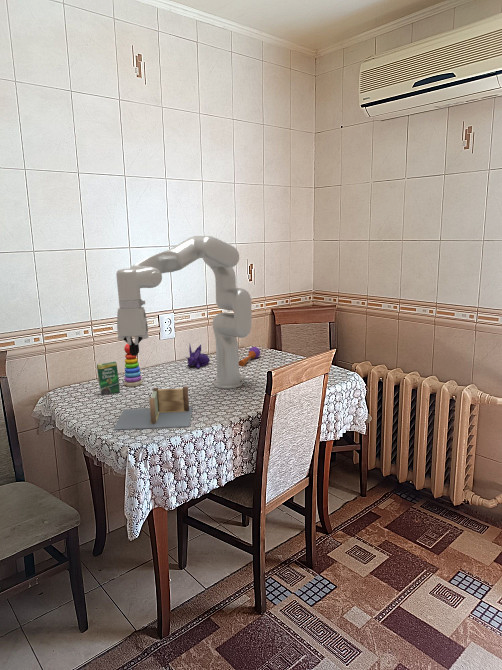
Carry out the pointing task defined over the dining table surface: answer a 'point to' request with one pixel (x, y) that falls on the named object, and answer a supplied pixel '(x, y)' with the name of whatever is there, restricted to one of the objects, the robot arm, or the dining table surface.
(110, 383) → the coffee box
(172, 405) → the fence fixed
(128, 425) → the card
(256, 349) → the kendama
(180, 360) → the dining table surface
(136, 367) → the stacking toy
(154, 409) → the fence gate
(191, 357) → the creature
